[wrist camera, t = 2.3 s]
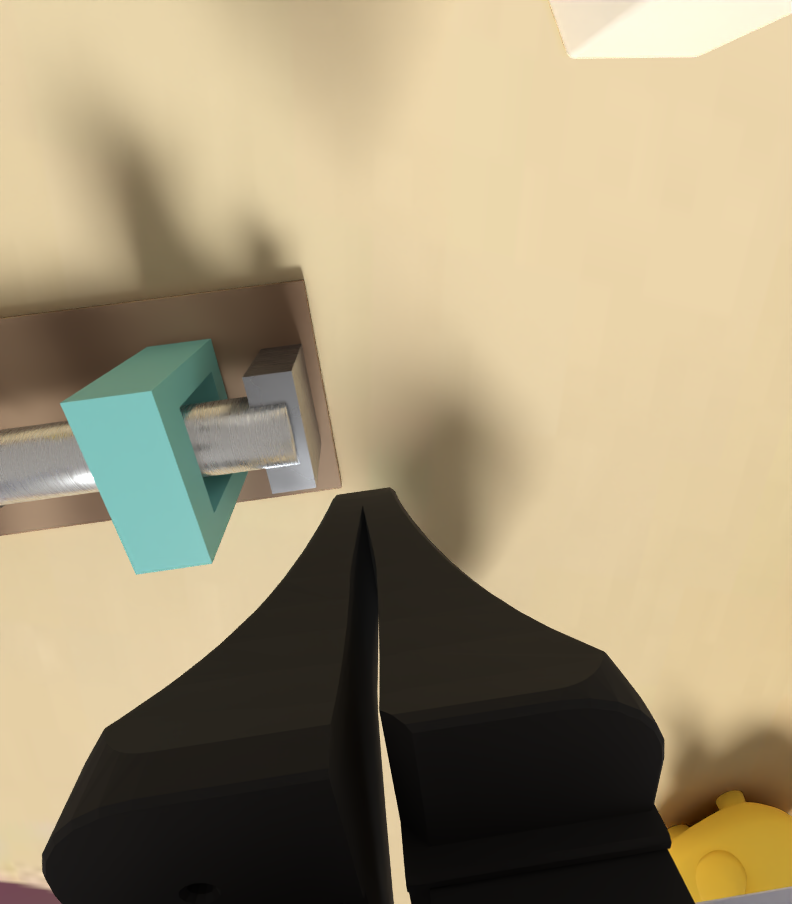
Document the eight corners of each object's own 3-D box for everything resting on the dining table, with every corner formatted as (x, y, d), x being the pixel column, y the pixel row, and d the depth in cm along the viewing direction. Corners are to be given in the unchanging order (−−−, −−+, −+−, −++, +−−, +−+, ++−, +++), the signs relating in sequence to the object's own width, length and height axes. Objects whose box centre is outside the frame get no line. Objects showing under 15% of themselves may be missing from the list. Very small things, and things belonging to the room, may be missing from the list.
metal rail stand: (-103, 502, 21) (-218, 575, 16) (-168, 404, 19) (-317, 459, 14) (321, 443, 21) (314, 499, 17) (301, 343, 19) (288, 378, 15)
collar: (192, 479, 21) (135, 574, 15) (147, 346, 18) (59, 403, 13) (248, 471, 21) (212, 563, 15) (210, 338, 18) (151, 391, 13)
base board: (-78, 542, 22) (-85, 547, 22) (-210, 344, 18) (-222, 347, 18) (341, 483, 22) (341, 487, 22) (303, 279, 18) (302, 280, 18)
